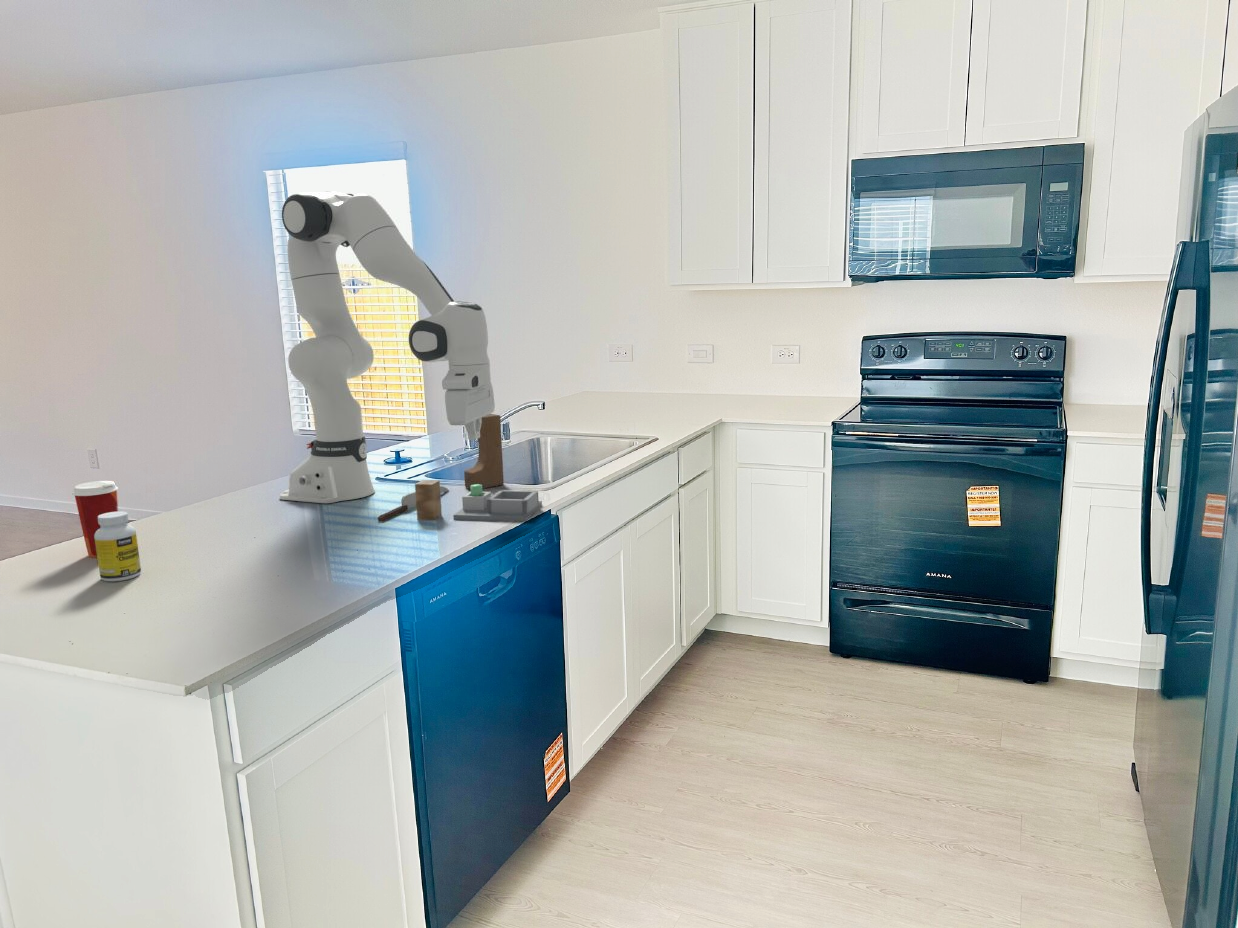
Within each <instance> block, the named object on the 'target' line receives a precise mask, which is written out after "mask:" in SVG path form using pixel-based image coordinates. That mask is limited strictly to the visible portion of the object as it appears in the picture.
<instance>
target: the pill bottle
mask: <svg viewBox="0 0 1238 928" xmlns="http://www.w3.org/2000/svg"><path fill="white" fill-rule="evenodd" d="M128 521H129V513H128V512H127V511H121V510H120V511H119V510H118V511H117V512H109V513H104V514H101V515H99V516H98V524H99V525H100V526H101V528H100V529H98V530H97V531H96V533H95V535H94V538H95V545H96V552H97V558H96V559H97V563H98V564H97V565H98V569H99V576H100V579H101V580H102V581H104V582H110V583H112V582H113V583H114V582H122V581H127V580H132V579H134V578H136V577H137V576H140V574H141V572H142V569H141V568H142V566H141V561H140V560H141V559H140V552H139V546H138V545H139V543H138V538H137V536H138V535H137V531H136V527H134V526H133V525H131V524H128Z"/></svg>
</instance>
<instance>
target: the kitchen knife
mask: <svg viewBox="0 0 1238 928" xmlns="http://www.w3.org/2000/svg"><path fill="white" fill-rule="evenodd" d="M447 492H450V490H449V489H448V487H445V486H442V485H440V495H441V494H443V493H447ZM413 508H417V506H416V492H415V491H413V492H410V493H407V494H405V495H402V497H401V505H399V506H397V507H395V508H393V509H392V510H389V511H388V512H385V513H382V514H380V515H379V516H378V517H377V522H378V523H384V522H386V521H388V520H391V519H392V518H394V517H397V516H399V515H401V514H404V513H407V512H408V511H409V510H410V509H413Z"/></svg>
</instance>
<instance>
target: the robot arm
mask: <svg viewBox="0 0 1238 928" xmlns="http://www.w3.org/2000/svg"><path fill="white" fill-rule="evenodd" d="M281 220H282V223H283V227H284V230H285V231H286V232H287V233H288V235H290V236H289V238H288V240H287V261H288V263H287V264H288V269H289V277H290V280H291V281H290V282H291V286H292V290H293V295H294V299H295V304H296V308H297V309H296V310H297V312H298V314H299V315H300V317H301V318H302V319H303V320H305V321H306V323H308V324H309V326H310V328H311V329H312V331H313V333H314V335H315V336H314V337H309V338H307V339H305V340H303V341H301V342H299V343H297V344H295V345H294V346H293V347H292V348H291V350H290V351H289V354H288V358H287V359H288V360H287V362H288V368H289V371H290V373H291V374H292V376H293V377H294V378H295V379H296V380H297V381H298V382H300V383H301V385H302V386H303V388H304V390H305V392H306V394H307V396H308V398H309V401H310V404H311V408H312V414H313V421H314V430H315V431H314V432H315V439H314V440H312V441H311V442H310V443H306V446H307V447H306V449H311V452H310V455H309V456H307V458H305V459H304V460H303V461H302V462H301V463H300V464H298V465H297V466H296V467H295V468H293V470H292V471H291V472H290V475H289V477H288V478H289V480H288V489H285V490H284V491H282V492H281V493H280V494H279V500H286V501H297V502H305V503H306V502H307V503H314V504H315V503H316V504H332V503H336V502H337V503H338V502H342V501H350V500H355V499H360V498H365V497H367V496H371V495H372V494H374V493H375V492H376V490H375V488H374V485H373V483H372V482H373V481H372V480H371V475H370V473H369V468H368V467H369V466H368V463H367V459H368V458H367V456H368V455H367V454H368V452H367V442H366V437H365V435H364V429H363V427H364V426H363V415H362V414H363V413H362V407H361V404H360V403H359V402H358V401H357V399H355V398H354V397H353V394H352V392H351V390H350V388H349V383H348V380H350V379H355V378H358V377H359V376H361V375H362V374H364V373H365V372H367V371H368V370H369V369H370V368H371V367H372V366H373V362H374V358H375V355H374V350H373V347H372V345H371V343H370V342H369V341H368V340H367V339H365V338H364V337H363V335H362V334H361V333H360V331H359V329H358V328H357V325H356V324H355V322H354V319H353V317H352V315H351V314H350V311H349V308H348V305H347V301H346V297H345V293H344V288H343V284H342V280H341V279H342V278H341V275H340V269H339V265H338V261H337V255H336V254H337V251H338V248H339V246H340V245H341V246H342V247H344V248H348V247H351V250H352V251H353V253H354V255H355V256H356V259H357V261H358V262H359V263H360V265H361V266H362V267H363V269H364V270H365V271H366V272H367V273H368V274H369V275H370V276H371V277H373V278H374V279H376V280H379V281H382V282H386V283H388V284H392V285H394V286H396V287H397V286H398V287H400V288H403V289H405V290H407V291H408V292H411V293H412V294H413V295H415V296H416V297H417V298H418V299H419V300H420V302H421V303H422V305H423V306H424V308H425V309H426V310H427V311H428V313H429V314H430V316H427V317H425V318H423V319H419V320H417V321H416V322H414V323H413V325H411V327H410V330H409V333H408V345H409V348H410V351H411V353H412V354H413V355H414V357H415V358H416V359H418V360H420V361H421V362H427V363H435V362H436V363H437V362H444V361H445V362H446V361H447V362H448V371H447V373H446V375H445V376H444V378H442V380H441V384H442V386H441V387H442V390H444V391H445V390H446V391H445V393H444V403H445V412H446V418H447V421H448V424H449V425H450V426H464V427H465V430H466V432H467V439H468V440H469V441H477V440H478V438H480V428H481V423H482V419H481V417H484V416H486V415H488V414H494V412H495V406H496V405H495V404H496V403H495V398H494V397H495V396H494V389H493V384H492V381H491V368H490V367H491V365H490V358H489V355H488V347H489V346H488V345H489V336H488V335H489V334H488V324H487V318H486V315H485V312H484V310H483V308H482V307H481V306H480V305H479V304H477V303H474V302H468V301H461V300H460V301H455V300H454V299H453V297H452V296H451V295H450V294H449V291H447V289H446V288H445V287H444V285H443V283H441V281H440V280H439V278H438V277H437V276H436V275H435V273H434V272H433V270H432V269H431V268H430V267H429V266H428V265H427V264H426V263H425V262H424V261H423V259H421V257H420V256H418V255H417V253H416V252H415V251H414V250H413V249H412V247H411V246H410V245H409V244H408V242H407V241H406V240H405V238H404V237H403V235H402V233H401V232H400V231H399V228H398V226H397V225H396V224H395V222H394V221H393V220H392V218H391V217H390V215H389V214H388V213H387V211H386V210H385V208H383V206H382V205H381V204H380V203H379V202H378V200H376V198H374V197H373V196H371V195H369V194H366V193H358V194H352V193H341V192H337V191H324V192H306V191H304V192H302V191H301V192H298V193H297V192H296V193H295V194H292V195H290V196H288V197H287V198H286V200H285V201H284V202H283V205H282V208H281Z"/></svg>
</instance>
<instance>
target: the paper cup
mask: <svg viewBox="0 0 1238 928" xmlns="http://www.w3.org/2000/svg"><path fill="white" fill-rule="evenodd" d="M117 490H119V487H118V486H117V485H116V483H115V481H113V480H97V481H88V482H84V483H83V482H82V483H80V484H77V485H75V486H74V488H73V492H72V496H74V497H75V503H76V508H77V511H78V517H79V521H80V526H81V529H82V535H83V538H84V543H85V548H86V552H87V555H88V557H89V558H91V557H92V559H97V552H96V545H95V538H94V535H95V533H96V531H97V530H98V529H100V528H101V526H100V525H99V524H98V516H99V515H101V514H104V513H109V512H117V511H119V505H118V493H117V492H118V491H117Z"/></svg>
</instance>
